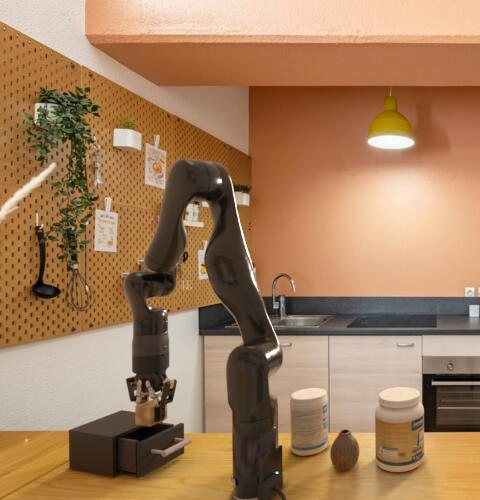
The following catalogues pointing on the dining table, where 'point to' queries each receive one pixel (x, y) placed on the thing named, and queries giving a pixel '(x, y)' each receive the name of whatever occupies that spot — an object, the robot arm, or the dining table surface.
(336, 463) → the vase
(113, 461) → the dark drawer cabinet
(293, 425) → the supplement tub
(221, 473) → the dining table surface
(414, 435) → the supplement tub
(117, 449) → the drawer with bar handle
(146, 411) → the block
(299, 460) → the dining table surface
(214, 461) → the dining table surface
